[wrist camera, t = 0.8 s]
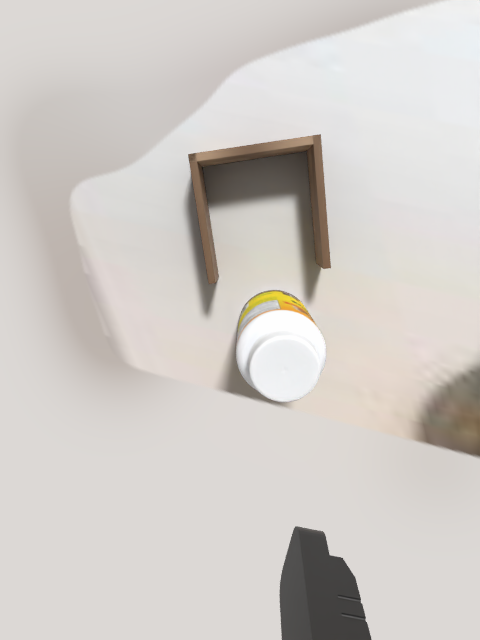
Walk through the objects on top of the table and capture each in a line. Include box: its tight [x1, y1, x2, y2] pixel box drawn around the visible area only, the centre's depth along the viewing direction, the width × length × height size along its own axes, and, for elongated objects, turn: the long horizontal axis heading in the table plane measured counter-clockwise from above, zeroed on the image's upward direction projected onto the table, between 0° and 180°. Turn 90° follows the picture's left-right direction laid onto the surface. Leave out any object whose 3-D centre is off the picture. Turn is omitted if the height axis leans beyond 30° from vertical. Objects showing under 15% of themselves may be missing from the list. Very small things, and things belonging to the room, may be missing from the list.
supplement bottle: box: [236, 290, 326, 402], centre depth 26 cm, size 6×6×10 cm
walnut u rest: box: [188, 134, 331, 284], centre depth 28 cm, size 9×9×3 cm
